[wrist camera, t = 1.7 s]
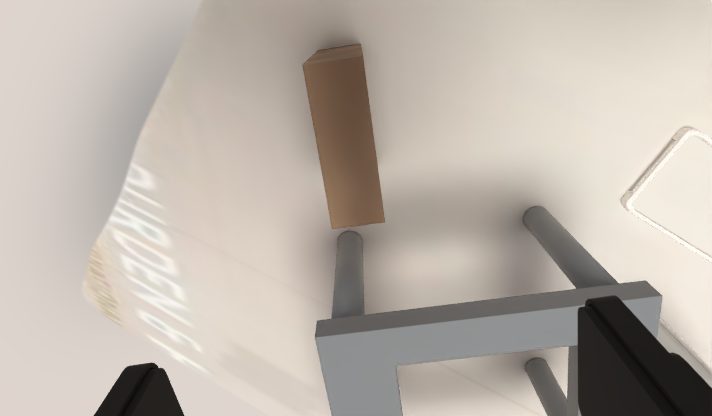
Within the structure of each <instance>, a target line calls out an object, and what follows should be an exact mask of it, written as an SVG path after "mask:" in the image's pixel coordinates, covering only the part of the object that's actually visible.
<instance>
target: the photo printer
mask: <svg viewBox="0 0 712 416" xmlns="http://www.w3.org/2000/svg"><path fill="white" fill-rule="evenodd" d="M657 340H658V341H659V342H660V343H661V344H662V345H663V347H664V348H665V349H666V350H667V351H668V352H669V353H672V352H674V353H676V354H679V355H680V356H681V357H682V358H684V359H685V360H686V361H687V362H688V363H689V364H690V365H691V366H692V368H693V369H694V370H695V371H696V372H697V373H698V374H699V375H700V376H701V377H702V378H703V379H704V380H705V381H706V382H707V383H708V385H709V386H710V387H711V388H712V369H711V368H710V367H709V366H708V365H707V364H706V363H705V362H704V361H703V360H702V359H701V358H700V357H699V356H698V355H697V354H696V353H695V352H694V351H693V350H692V349H691V348H690V347H689V346H688V345H687V344H686V343H685V342H684V341H683V340H682V339H681V338H680V337H679V336H678V335H677V334H676V333H675V332H674V331H673V330H672V329H671V328H670V327H669V326H668V325H667V324H666V323H665V322H664V321H663V320H662V319H661V318H660V320H659V328H658V337H657Z"/></svg>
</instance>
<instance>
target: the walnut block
mask: <svg viewBox="0 0 712 416" xmlns="http://www.w3.org/2000/svg"><path fill="white" fill-rule="evenodd" d="M303 70H304V75H305V81H306V86H307V92H308V98H309V103H310V109H311V114H312V120H313V125H314V131H315V136H316V142H317V148H318V153H319V159H320V164H321V170H322V175H323V181H324V186H325V192H326V197H327V203H328V209H329V214H330V220H331V225H332V229H337V228H345V227H352V226H360V225H367V224H375V223H382V222H385V218H384V211H383V203H382V196H381V188H380V181H379V173H378V166H377V158H376V151H375V143H374V136H373V128H372V121H371V113H370V106H369V98H368V91H367V83H366V76H365V68H364V61H363V54H362V48H361V44H357V45H351V46H344V47H338V48H331V49H325V50H318V51H317V52H316V53H315V54H314V55H313V56H312V57H311V58H310V59H308V60H307V61H306V62H305V63H304V64H303Z"/></svg>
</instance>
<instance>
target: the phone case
mask: <svg viewBox="0 0 712 416" xmlns="http://www.w3.org/2000/svg"><path fill="white" fill-rule="evenodd" d="M691 135H695V136H697V137H698V138H699V139H701V140H702V141H704V142H705V143H707V144H708V145H710V146H711V147H712V139H711V138H709V137H708V136H706V135H705V134H703V133H702V132H700V131H697V130H694V129H691V128H681V129H680V130H679V131H678V132H677V134H676V135H675V136H674V137H673V138H672V139H674V140H675V141H676V142H675V143H674V144H673V146H672V147H671V148H670V149H669V150H668V151H667V153H666V154H665V155H664V156H663V157H662V158H661V160H660V161H659V162H658V163H657V164H656V165H655V167H654V168H653V169H652V170H651V171H650V172H649V174H648V175H647V176H646V177H645V178H644V179H643V181H642V182H641V183H640V184H639V185H638V186H637V188H636V189H635V190H634V191H633V192H631V191H629V190H628V191H627V192H626V193H625V195H624V196H623V197H622V198H621V204H622V205H623V207H624V208H625V209H627V210H628V211H629V212H631V213H632V214H634V215H635V216H637V217H639V218H640V219H642V220H644V221H645V222H647V223H648V224H650V225H652V226H653V227H655V228H656V229H658V230H660V231H661V232H663V233H665V234H666V235H668V236H669V237H671V238H673V239H674V240H676V241H678V242H679V243H681V244H682V245H684V246H686V247H687V248H689V249H690V250H692V251H694V252H695V253H697V254H699V255H700V256H702V257H703V258H705V259H707V260H708V261H710V262H712V258H711V257H709V256H708V255H706V254H704V253H703V252H701V251H700V250H698V249H697V248H695V247H693V246H692V245H690V244H689V243H687V242H685V241H684V240H682V239H681V238H679V237H677V236H676V235H674V234H672V233H671V232H669V231H668V230H666V229H664V228H663V227H661V226H660V225H658V224H656V223H655V222H653V221H651V220H650V219H648V218H647V217H645V216H643V215H642V214H640V213H639V212H637V211H635V210H634V208H633V207H632V201H633V200H634V199H635V198H636V197H637V195H638V194H639V193H640V192H641V191H642V190H643V188H644V187H645V186H646V185H647V184H648V183H649V181H650V180H651V179H652V178H653V177H654V176H655V175H656V173H657V172H658V171H659V170H660V169H661V168H662V166H663V165H664V164H665V163H666V162H667V161H668V159H669V158H670V157H671V156H672V155H673V154H674V153H675V151H676V150H677V149H678V148H679V147H680V146H681V144H682V143H683V142H684V141H685V140H686V139H687V137H689V136H691Z"/></svg>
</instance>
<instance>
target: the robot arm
mask: <svg viewBox="0 0 712 416" xmlns="http://www.w3.org/2000/svg"><path fill="white" fill-rule="evenodd" d="M578 405H579V410H580V413H581V416H712V388H711V387H710V386H709V385H708V383H707V382H706V381H705V380H704V379H703V378H702V377H701V376H700V375H699V374H698V373H697V372H696V371H695V370H694V369H693V368H692V366H691V365H690V364H689V363H688V362H687V361H686V360H685V359H684V358H682V357H681V356H680V355H679V354H676V353H674V352H672V353H669V352H668V351H667V350H666V349H665V348H664V347H663V345H662V344H661V343H660V342H659V341H658V340H657V339H656V338H655V337H654V336H653V334H652V333H651V332H650V331H649V330H648V329H647V328H646V327H645V326H644V325H643V324H642V322H641V321H640V320H639V319H638V318H637V317H636V316H635V315H634V314H633V313H632V311H631V310H630V309H629V308H628V307H627V306H626V305H625V304H624V303H623V302H622V301H621V299H620V298H618V297H617V296H615V295H612V296H605V297H598V298H591V299H587V300H586V302H585V306H584V307H579V308H578ZM94 416H184V414H183V412H182V409H181V407H180V405H179V402H178V400H177V397H176V395H175V393H174V390H173V388H172V386H171V383H170V381H169V378H168V376H167V374H166V372H165V370H164V369H163V368H158V366H157V365H156V364H155V363H146V364H139V365H133V366H128V367H126V368H125V369H124V370H123V372H122V373H121V375H120V377H119V378H118V380H117V381H116V382H115V384H114V386H113V387H112V389H111V390H110V392H109V393H108V395H107V396H106V398H105V399H104V401H103V402H102V404H101V406H100V407H99V408H98V410H97V412H96V413H95V415H94Z"/></svg>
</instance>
